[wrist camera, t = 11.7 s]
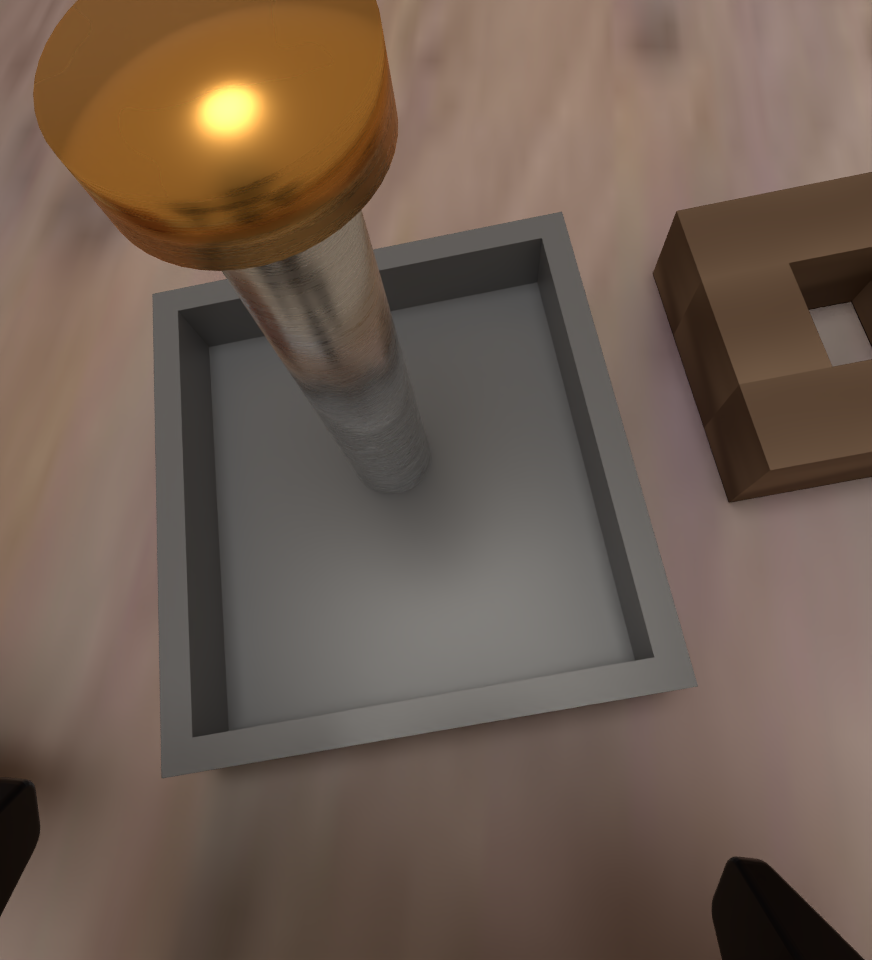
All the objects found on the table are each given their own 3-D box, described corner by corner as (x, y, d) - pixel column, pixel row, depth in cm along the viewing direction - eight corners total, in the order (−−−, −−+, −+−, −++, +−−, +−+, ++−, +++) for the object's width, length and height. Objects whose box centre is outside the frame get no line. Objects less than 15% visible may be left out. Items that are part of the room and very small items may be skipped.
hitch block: (1011, 451, 19) (1104, 409, 16) (729, 502, 19) (770, 470, 16) (897, 225, 21) (959, 154, 18) (652, 273, 22) (676, 210, 19)
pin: (482, 470, 19) (454, 65, 7) (372, 545, 19) (120, 264, 6) (410, 376, 20) (271, -116, 8) (306, 444, 20) (-17, 39, 7)
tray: (665, 685, 17) (698, 686, 15) (214, 763, 18) (161, 778, 15) (553, 272, 22) (561, 211, 19) (196, 343, 22) (152, 293, 20)
